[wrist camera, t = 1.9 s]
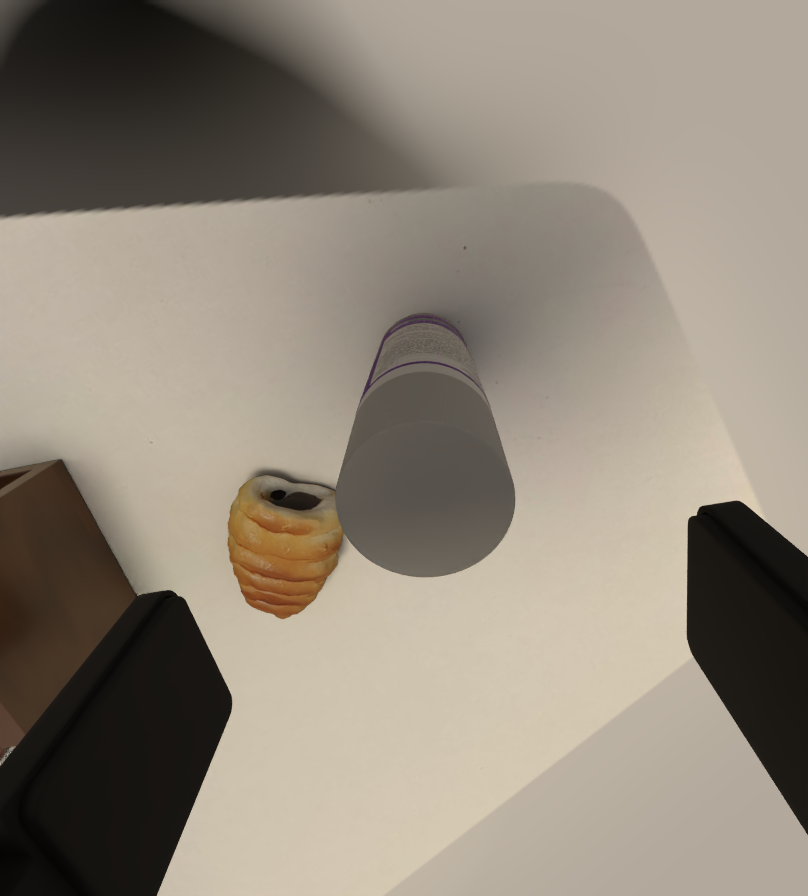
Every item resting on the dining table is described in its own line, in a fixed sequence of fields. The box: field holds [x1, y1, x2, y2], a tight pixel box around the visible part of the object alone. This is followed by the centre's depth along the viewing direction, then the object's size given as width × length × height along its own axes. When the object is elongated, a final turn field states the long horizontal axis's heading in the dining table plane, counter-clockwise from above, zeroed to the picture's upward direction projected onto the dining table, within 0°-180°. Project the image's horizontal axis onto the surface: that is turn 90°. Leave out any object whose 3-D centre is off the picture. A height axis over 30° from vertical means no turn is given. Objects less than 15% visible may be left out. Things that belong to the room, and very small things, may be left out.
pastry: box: [228, 475, 343, 619], centre depth 29 cm, size 9×7×4 cm
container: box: [335, 314, 515, 577], centre depth 19 cm, size 5×5×15 cm
